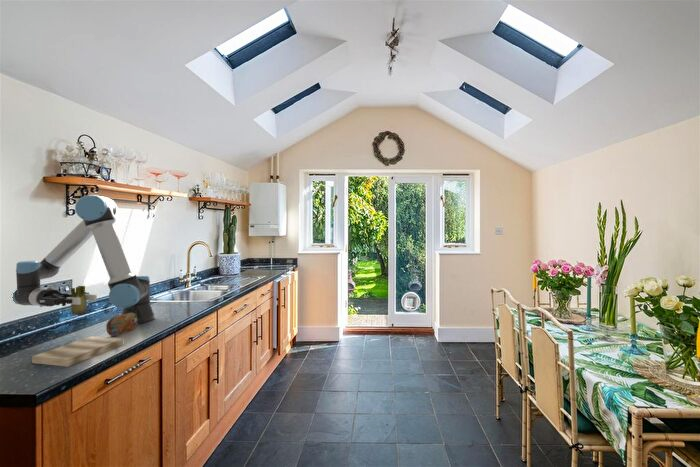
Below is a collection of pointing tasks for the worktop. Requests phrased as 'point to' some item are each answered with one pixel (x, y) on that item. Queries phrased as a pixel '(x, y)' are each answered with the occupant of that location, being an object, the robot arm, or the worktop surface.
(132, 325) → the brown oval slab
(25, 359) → the worktop surface
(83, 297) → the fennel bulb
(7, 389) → the worktop surface
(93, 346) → the board
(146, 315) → the robot arm
